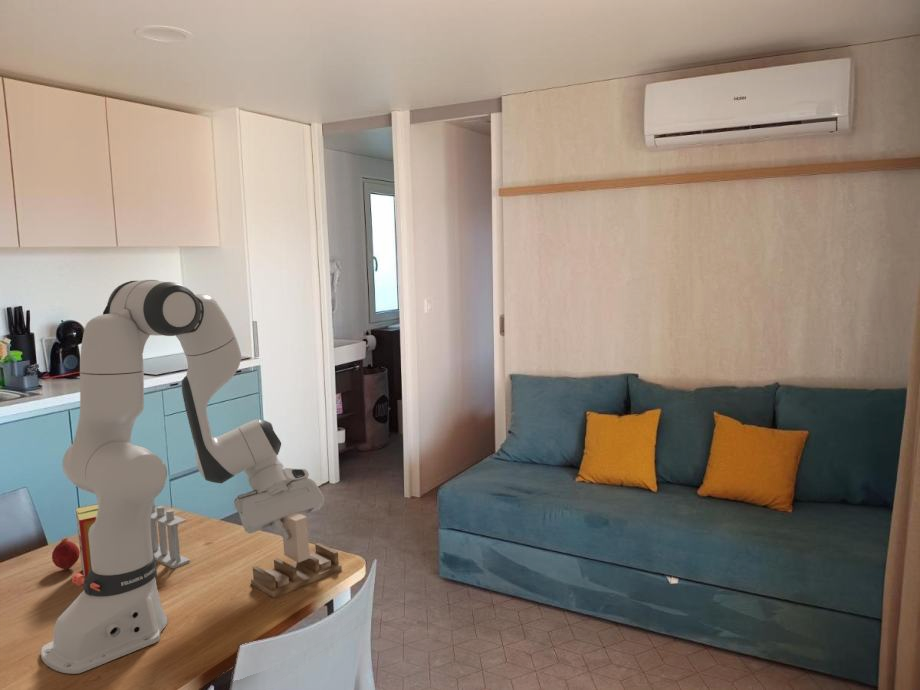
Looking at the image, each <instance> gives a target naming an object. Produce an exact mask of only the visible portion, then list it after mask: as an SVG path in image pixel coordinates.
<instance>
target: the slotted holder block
mask: <svg viewBox="0 0 920 690" xmlns="http://www.w3.org/2000/svg"><path fill="white" fill-rule="evenodd" d="M309 556H310V558H309V559H306V560H304V561H301V562H299V563H298V562H296V561H293V562H290V563H287V562H285V561H284V560H282V559H280V558H278V557H276V558H275V559H273V567H274V568H273V567H271V568H268V569H266V570H265V569H263V568H261V567H260V566H257V565H256V566H253V567H252V575H253V576H252V577H251V578H250V583H251V585H253V586H254V587H256V588H257V589H258V590H260V589H261V590H260V591H263V592H264V593H265V594H266V595H269V596H270V597H271V598H273V599H276V598H278V597H281V596H283V595H286V594H287V593H290V592H293V591H295V590H297V589H299V588H302V587H304V586H307V585H310V584H312V583H313V582H316V581H318V580H321V579H324V578H325V577H328V576H331V575H333V574H336V573H338V572H339V571H342V570H343V568H342V567H343V566H342V564H340V562H339V551H337V550H334V549H333V548H331V547H328V546H327V545H324V544H322V543H321V542H317V543H315V551H312V552H309Z"/></svg>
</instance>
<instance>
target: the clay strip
mask: <svg viewBox="0 0 920 690" xmlns="http://www.w3.org/2000/svg"><path fill="white" fill-rule="evenodd" d="M281 526H282V527H283V528H284V529H286V530H288V529H289V530H290V533H291V534H292V537H291V538H290V539H288V540H285V541H284V539H283V538H282V541H283V543H282V544H283V554H284V555H283V556H285V557H287V558H289V559H291V560H293V562H295V561H296V562H298V563H299V562H301V561H304V560H306V559H309V558H310V556H309V554H310V545H309V544H310V542H309V541H310V540H309V530H308V529H309V527H308V516H307V517H306V516H304V515H301V514H299V513H297V512H294V513H291V514H289V515H286V516H285V517H284V518H282V523H281Z"/></svg>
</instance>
